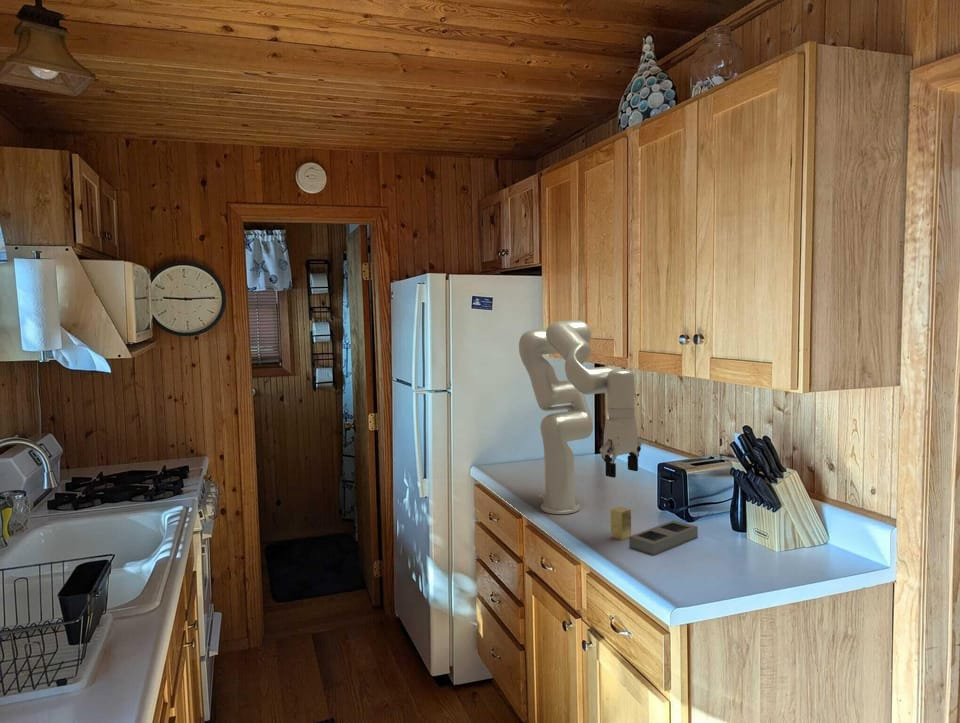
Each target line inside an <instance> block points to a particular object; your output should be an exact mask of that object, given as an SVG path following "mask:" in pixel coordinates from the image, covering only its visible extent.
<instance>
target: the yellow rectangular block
mask: <svg viewBox="0 0 960 723" xmlns="http://www.w3.org/2000/svg"><path fill="white" fill-rule="evenodd" d="M630 536H632V509H630V508H626V507H623V506H617V507H614V508H611V509H610V537H611V538H614V539H616V540H620V541H624V540H626V539H629V537H630Z"/></svg>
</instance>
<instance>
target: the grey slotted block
mask: <svg viewBox="0 0 960 723" xmlns="http://www.w3.org/2000/svg"><path fill="white" fill-rule="evenodd" d="M698 532H699V530H698V526H696V525H693V524H689V523H685V522H681V521H678V520H674V519H673V520H671V521H668V522H665V523H662V524H660V525H658V526H654V527H652V528H650V529H646V530H644V531H640V532H638V533H636V534H633V535H632V534H631V536H630V537H629V538H628V540H629V541H628V542H629V545H628V547H629V548H630V549H633V550H635V551H636V550H637V551H640V552H643V553H646V554H649V555H652V556H656V555H658V554H660V553H663V552H665V551H667V550H670V549H672V548H674V547H676V546H680V545H682V544H684V543H686V542H689V541H691V540H694V539H696V538H698V536H699V534H698Z"/></svg>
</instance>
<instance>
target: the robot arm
mask: <svg viewBox="0 0 960 723" xmlns="http://www.w3.org/2000/svg"><path fill="white" fill-rule="evenodd" d="M591 338H592V332H591V328H590V326H589V325H588V324H587V323H586V322H585V321H584V320H578V319H577V320H576V319H575V320H574V319H573V320H571V319H570V320H558V321H554V322H552V323H550V324H549V325H548V326H547V328H539V329H538V328H537V329H536V328H535V329H531V330H527V331H525V332H524V333H522V335H521V336H520V338H519V342H518V353H519V357H520V359H521V362H522V364H523V366H524V367H525V369H526V372H527V374H528V376H529V379H530V383H531V387H532V388H533V389H532V390H533V393H534V397H535V400H536V402H537V405H538V407H539V409H540V410H542V411H544V412H554V413H550V414H547V415H545V416H544V417H543V418H542V419H541V421H540V431H541V432H540V434H541V438H542V443H543V444H542V445H543V453H544V454H543V455H544V456H543V458H544V486H545V487H544V489H545V490H543V491H541V494H538V498H539V499H541V500H543V502H542V503H541V506H540V510H542V512H545V513H547V514H552V515H569V514H574V513H576V512H579V510H580V509H581V508H580V507H581V505H580V504H579V503H578V502H576V501H575V499H576V498H575V496H576V494H575V493H576V492H575V489H576V488H575V456H574V453H573V450H572V449H571V447H570V446H569V444H568V442H573V441H580V440H584V439H588V438H589V437H590V436H592V434H593V431H594V424H593V418H592V414H591V412H590V409H589V406H588V403H587V399H586V397H585V395H587V396H588V395H597V394H606V395H607V396H606V397H607V399H606V400H607V405H606V408H607V418H606V419H605V424H604V429H603V430H604V431H603V445H602V446H601V447H600V449H599V453H600V455H601V458H602V460H603V462H604V464H605V465H604V466H605V476H606V477H608V478H616V477H617V471H616V470H617V463H615V461H616V459H617V457H618V456H622V455H627V454H628V455H627V470H629V471H633V472H638V470H639V457H640V452H641V450H642V445H643V444H642V443H643V439H642V438H640V437H638V436H639V435H638V427H637V425H638V424H637V419H636V400H635V398H636V394H635V393H636V392H635V391H636V390H635V388H636V387H635V380H636V379H635V373H634V371H632V370H631V369H626V368H624V369H623V368H620V367H617V366H600V367H598V366H597V367H589V368H588V367H585V366H583V365H584V363H585V362H586V361H587V360H588V359H589V358H590V355H591V353H592V352H591V351H592V350H591V349H592V348H591V345H590V344H589V343H590V342H591ZM553 354H554V355H555V354H559V355H560V356H561V357H562V358H563V359H564V360H565V363H564V372H565V375H566V379H567V380H559V379H558V377H557V375H556V370H555V368H554V367H553V365H552V364H551V363H550V362H549V361H548V360H547V359H546V358H545V357H544V356H543V355H553ZM562 410H563V411H562ZM564 410H566V411H564ZM555 411H560V412H555ZM561 411H562V412H561Z"/></svg>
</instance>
